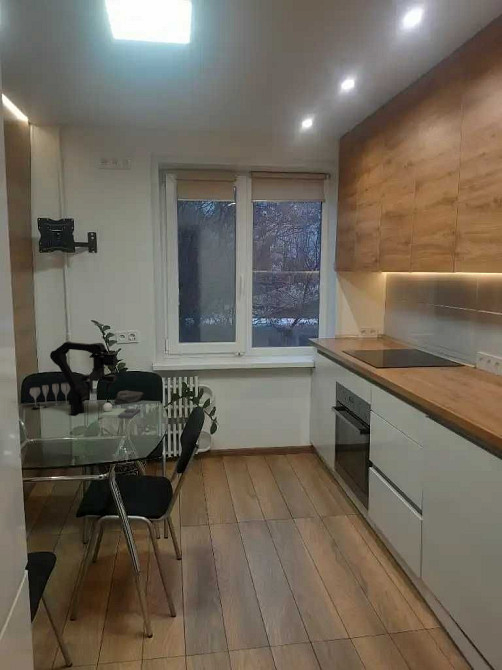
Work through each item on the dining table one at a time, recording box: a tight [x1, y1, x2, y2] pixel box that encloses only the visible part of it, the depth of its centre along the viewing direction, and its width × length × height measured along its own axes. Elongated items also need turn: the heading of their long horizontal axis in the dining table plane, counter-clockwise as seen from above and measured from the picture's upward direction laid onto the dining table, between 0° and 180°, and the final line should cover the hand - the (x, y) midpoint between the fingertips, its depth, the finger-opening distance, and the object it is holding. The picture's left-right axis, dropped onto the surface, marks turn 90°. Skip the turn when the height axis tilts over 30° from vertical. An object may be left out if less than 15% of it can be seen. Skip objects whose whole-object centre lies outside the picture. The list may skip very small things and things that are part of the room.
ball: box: [102, 402, 113, 412], centre depth 278 cm, size 5×5×5 cm
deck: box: [99, 407, 141, 419], centre depth 277 cm, size 18×14×2 cm
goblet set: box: [29, 382, 71, 407], centre depth 296 cm, size 28×6×13 cm, turn 116°
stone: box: [113, 389, 145, 405], centre depth 300 cm, size 18×9×10 cm
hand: (99, 393), depth 277 cm, fingers open, 9 cm apart
